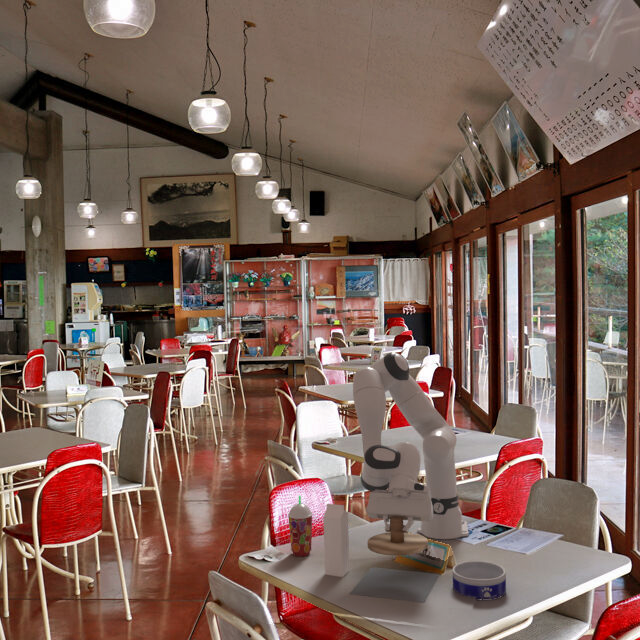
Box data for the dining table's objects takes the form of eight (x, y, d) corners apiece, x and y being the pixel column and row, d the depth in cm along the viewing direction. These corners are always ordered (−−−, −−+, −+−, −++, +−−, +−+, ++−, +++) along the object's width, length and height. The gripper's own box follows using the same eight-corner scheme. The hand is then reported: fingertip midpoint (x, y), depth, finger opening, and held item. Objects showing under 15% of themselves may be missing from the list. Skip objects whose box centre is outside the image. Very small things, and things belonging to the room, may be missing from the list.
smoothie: (309, 548, 246) (307, 491, 246) (316, 556, 238) (315, 497, 238) (286, 551, 243) (284, 494, 243) (293, 559, 236) (291, 500, 235)
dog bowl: (470, 604, 196) (469, 583, 196) (443, 584, 211) (442, 564, 210) (516, 595, 201) (516, 574, 201) (487, 577, 215) (487, 557, 215)
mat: (371, 569, 225) (371, 567, 225) (439, 576, 217) (439, 574, 217) (349, 595, 204) (349, 593, 204) (424, 604, 196) (424, 602, 196)
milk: (332, 569, 225) (330, 501, 225) (350, 572, 223) (347, 502, 223) (324, 576, 220) (322, 506, 220) (342, 578, 217) (340, 507, 217)
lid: (376, 534, 222) (375, 508, 222) (433, 537, 215) (431, 510, 215) (360, 553, 205) (358, 525, 205) (421, 557, 198) (419, 528, 198)
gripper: (368, 484, 220) (360, 524, 211) (432, 486, 213) (428, 528, 204) (372, 494, 224) (365, 534, 215) (436, 497, 217) (431, 538, 208)
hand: (396, 531), depth 209 cm, fingers closed on lid, 4 cm apart
